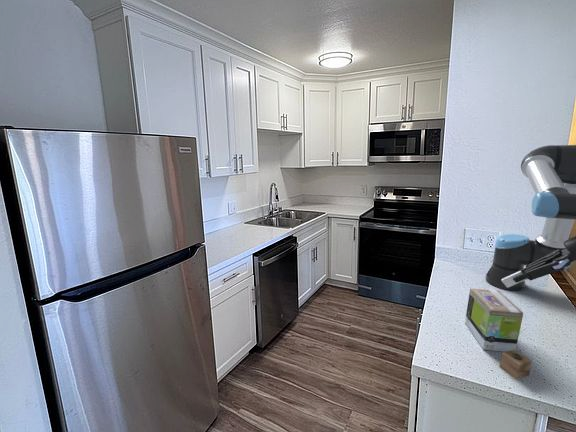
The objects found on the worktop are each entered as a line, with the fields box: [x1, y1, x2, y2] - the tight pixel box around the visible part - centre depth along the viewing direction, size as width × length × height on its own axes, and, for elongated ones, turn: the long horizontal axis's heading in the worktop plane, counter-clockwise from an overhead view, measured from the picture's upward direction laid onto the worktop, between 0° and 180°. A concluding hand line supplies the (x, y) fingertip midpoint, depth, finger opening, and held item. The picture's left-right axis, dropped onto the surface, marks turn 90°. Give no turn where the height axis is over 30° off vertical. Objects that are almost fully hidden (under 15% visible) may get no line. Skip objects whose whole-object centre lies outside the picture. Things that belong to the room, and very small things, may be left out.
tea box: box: [464, 288, 524, 353], centre depth 100 cm, size 15×10×15 cm
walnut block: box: [499, 349, 533, 380], centre depth 87 cm, size 5×5×5 cm
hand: (504, 283), depth 95 cm, fingers closed
